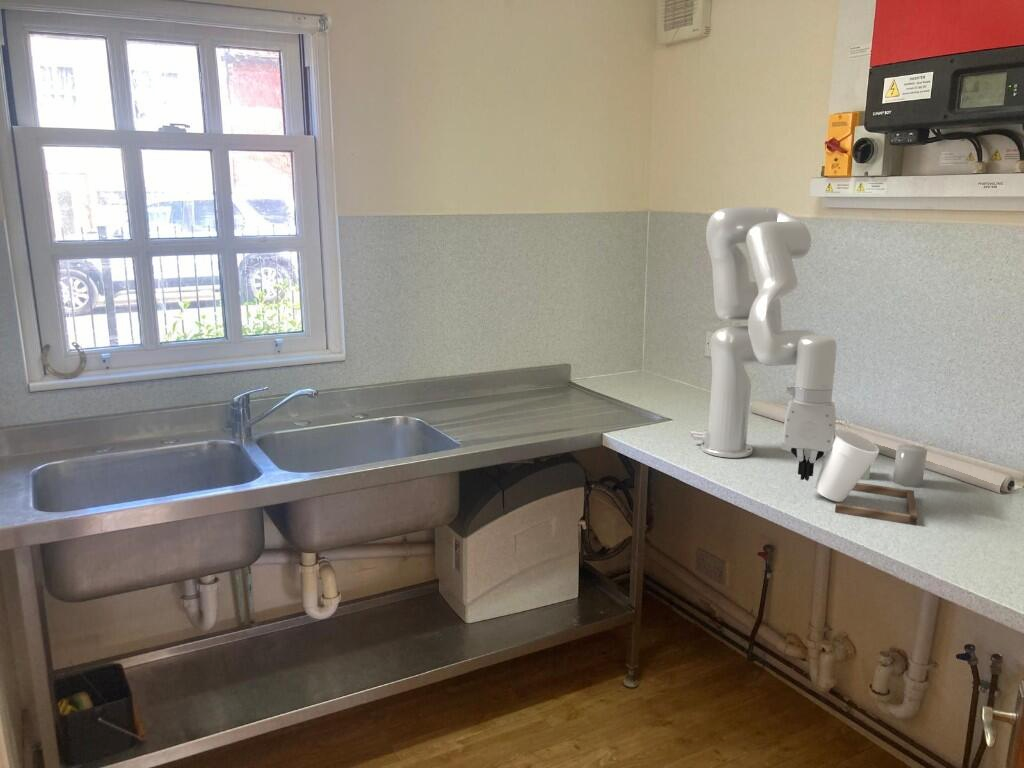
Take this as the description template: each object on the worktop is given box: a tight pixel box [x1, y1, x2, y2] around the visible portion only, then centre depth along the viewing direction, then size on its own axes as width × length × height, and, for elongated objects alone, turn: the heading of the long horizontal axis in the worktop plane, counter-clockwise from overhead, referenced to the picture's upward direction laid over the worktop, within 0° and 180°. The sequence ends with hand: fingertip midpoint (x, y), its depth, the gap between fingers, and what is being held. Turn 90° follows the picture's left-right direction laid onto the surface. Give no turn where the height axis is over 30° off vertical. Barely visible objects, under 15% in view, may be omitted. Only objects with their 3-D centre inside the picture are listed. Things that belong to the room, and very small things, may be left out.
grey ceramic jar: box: [892, 444, 928, 488], centre depth 175 cm, size 6×6×8 cm
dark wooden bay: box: [834, 482, 918, 526], centre depth 163 cm, size 15×16×2 cm
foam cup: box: [814, 429, 880, 503], centre depth 164 cm, size 10×9×13 cm
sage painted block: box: [860, 464, 872, 480], centre depth 180 cm, size 5×5×5 cm
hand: (805, 478), depth 167 cm, fingers closed
